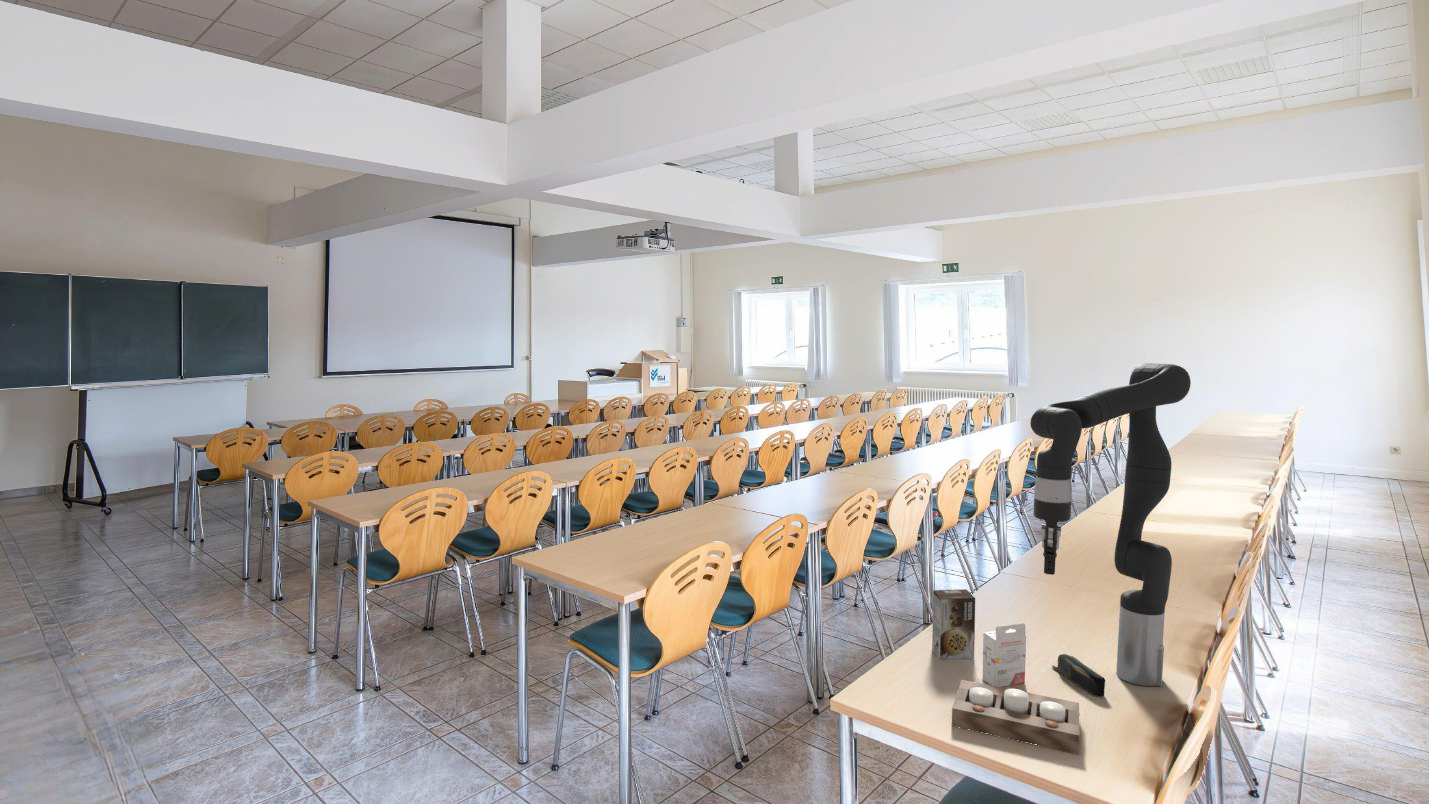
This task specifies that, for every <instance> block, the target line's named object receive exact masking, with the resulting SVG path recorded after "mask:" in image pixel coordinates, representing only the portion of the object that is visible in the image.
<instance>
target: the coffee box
mask: <svg viewBox="0 0 1429 804" xmlns="http://www.w3.org/2000/svg"><path fill="white" fill-rule="evenodd" d="M975 625H976V597H975V596H974V595H973V594H972V593H971V592H970V591H969V590H968V589H964V588H963V589H934V590H933V592H932V631H931V632H932V635H931V637H932V640H931V642H932V643H931V648H932V649H931V650H932V651H933V652H934V654H935V655H936V657H937V658H938V659H939V660H962V659H963V660H964V659H965V660H967V659H972V660H973V659H975V643H976V642H975V641H976V640H975V637H976V636H975V635H976V634H975V632H976V630H975V629H976V626H975Z"/></svg>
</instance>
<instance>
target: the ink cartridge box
mask: <svg viewBox="0 0 1429 804" xmlns="http://www.w3.org/2000/svg"><path fill="white" fill-rule="evenodd" d="M1026 633H1027V632H1026V624H1025V623H1024V622H1022V623H1017V624H1016V623H1015V624H1008V625H1001V626H999V625H998V626H996V627H995V630H993V631H983V635H982V636H983V639H982V641H983V643H982V645H983V646H982V680H983V681H985V682H986V683H987V684H988V685H991V686H996V687H1001V688H1004V687H1008V686H1014V685H1022V684H1024V683H1025V682H1026V659H1027V658H1026V653H1027V652H1026V651H1027V635H1026Z"/></svg>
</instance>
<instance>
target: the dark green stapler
mask: <svg viewBox="0 0 1429 804" xmlns="http://www.w3.org/2000/svg"><path fill="white" fill-rule="evenodd" d="M1051 667H1052V669H1054V670H1056V671H1057V672H1058V673H1060V674H1061V675H1063V676H1065V677H1066V678H1067V679H1068V680H1070V681H1071V682H1073V683H1075V684H1076V686H1078V687H1080V688H1081V689H1083V691H1085V692H1086V693H1088V694H1089V695H1092V696H1095V697H1104V696H1105V687H1106V679H1105V677H1103V676H1102V675H1100V674H1099V673H1098V672H1096V671H1094V670H1093V669H1092V668H1090V667H1088V666H1087V665H1085V664H1084V663H1083V662H1082V661H1080V660H1079V659H1078V658H1076V657H1074V656H1072V655H1069V654H1067V653H1062V654H1061V653H1060V654H1059V655H1058V657H1057V666H1055V665H1052V666H1051Z"/></svg>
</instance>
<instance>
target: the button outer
mask: <svg viewBox="0 0 1429 804" xmlns="http://www.w3.org/2000/svg"><path fill="white" fill-rule="evenodd" d="M969 703H974V704H979V705H984V706H989V707H993V693H992V692H991V691H990V690H988V689H986V688H981V687H974V688H971V689H970V693H969Z"/></svg>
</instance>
